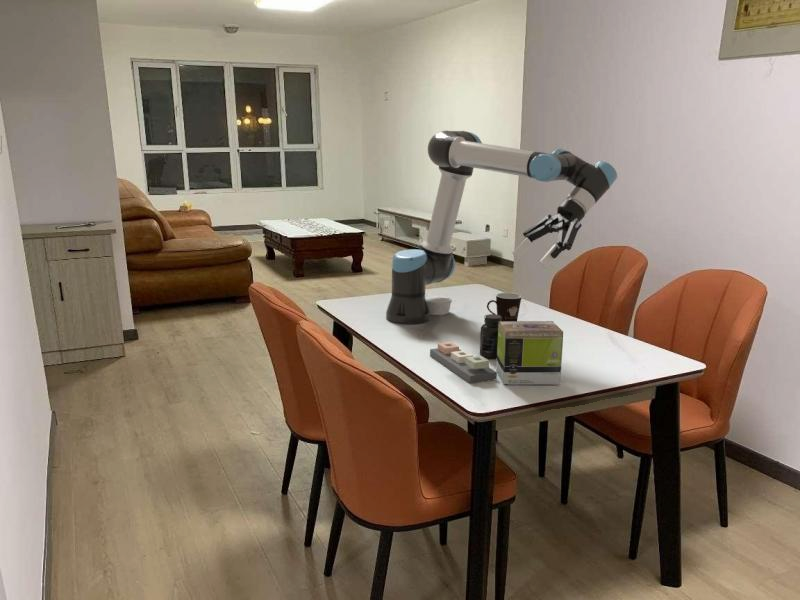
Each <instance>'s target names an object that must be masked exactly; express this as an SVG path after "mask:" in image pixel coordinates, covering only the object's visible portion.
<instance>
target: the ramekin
mask: <svg viewBox="0 0 800 600" xmlns="http://www.w3.org/2000/svg"><path fill="white" fill-rule="evenodd" d="M425 299H426V302H427V306H428V309H429V313H430V314H429V316H435V315H440V316H446V315H447V314H448V313H449V312H450V309H451V304H452V301H453V300H452V298H450V297H449V296H446V295H442V294H440V295H438V294H428V295H425ZM445 314H446V315H445Z"/></svg>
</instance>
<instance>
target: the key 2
mask: <svg viewBox="0 0 800 600" xmlns="http://www.w3.org/2000/svg"><path fill="white" fill-rule="evenodd" d="M465 364H466V365H468V366H470V367H471V368H473V369H480V368H487V367H489V368H490V359H486V358H484V357H482V356H481V355H480V354H479V355H473V356H472V357H466V360H465Z"/></svg>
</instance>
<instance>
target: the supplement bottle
mask: <svg viewBox="0 0 800 600" xmlns="http://www.w3.org/2000/svg"><path fill="white" fill-rule="evenodd" d="M495 314H496V313H495ZM495 314H492V313H490V314H489V313H488V314H485V315H484V321H483V322H484V324H482V325H481V326H480V336H479V356H480V355H481V356H482V357H484V358H488V359H487V360H497V346H498V325H499V321H501V316H500V315H497V314H496V315H495Z"/></svg>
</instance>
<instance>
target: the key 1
mask: <svg viewBox="0 0 800 600" xmlns="http://www.w3.org/2000/svg"><path fill="white" fill-rule="evenodd" d="M437 348H438V350H439V351H441V352H442V353H444V354H451V352H456V351H459V349H460V346H459V345H458V344H456V343H454V342H453V341H447V342H441V343H439V342H438V343H437Z"/></svg>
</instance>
